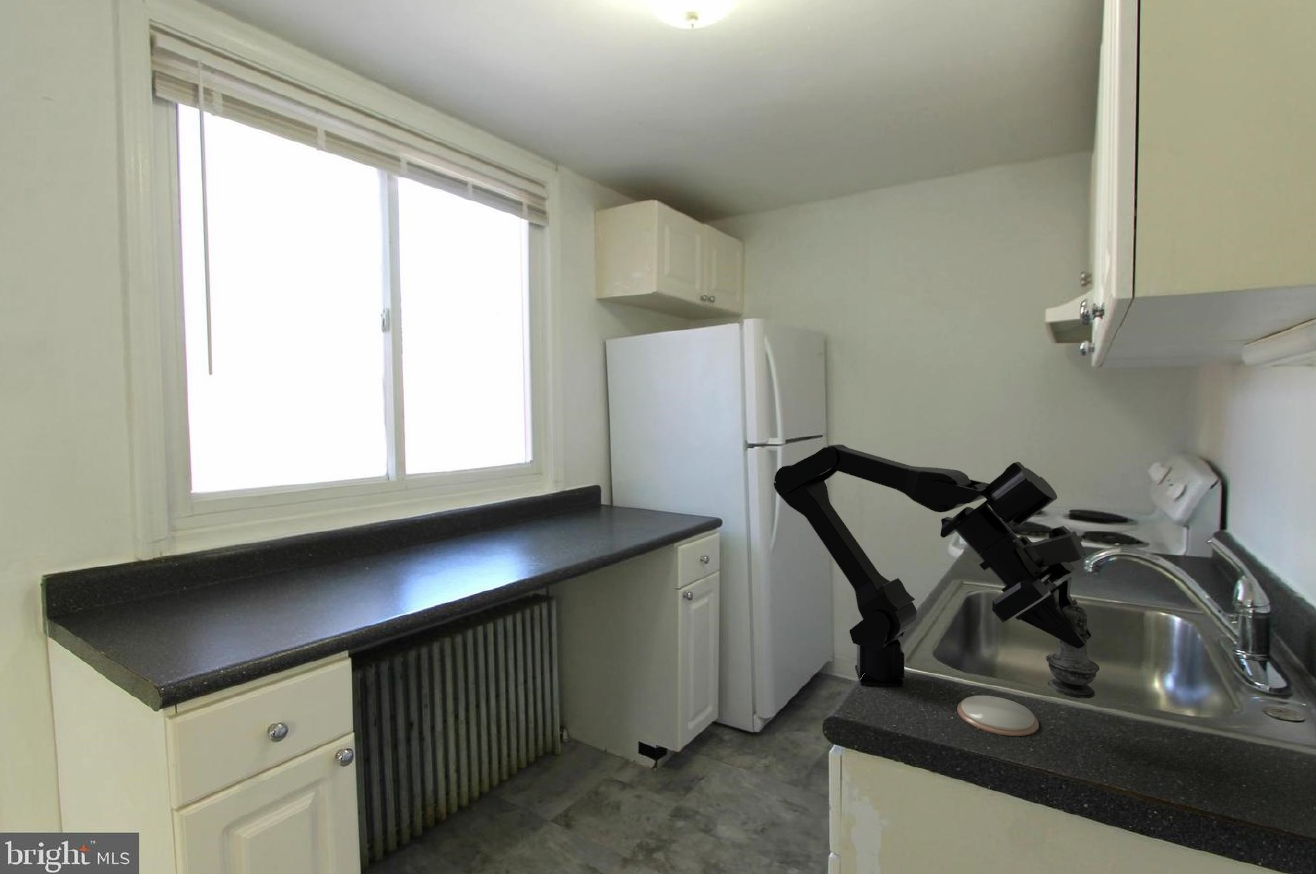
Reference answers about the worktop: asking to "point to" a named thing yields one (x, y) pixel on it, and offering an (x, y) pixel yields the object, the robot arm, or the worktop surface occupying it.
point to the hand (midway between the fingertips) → (1085, 642)
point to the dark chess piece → (1073, 660)
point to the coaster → (998, 715)
